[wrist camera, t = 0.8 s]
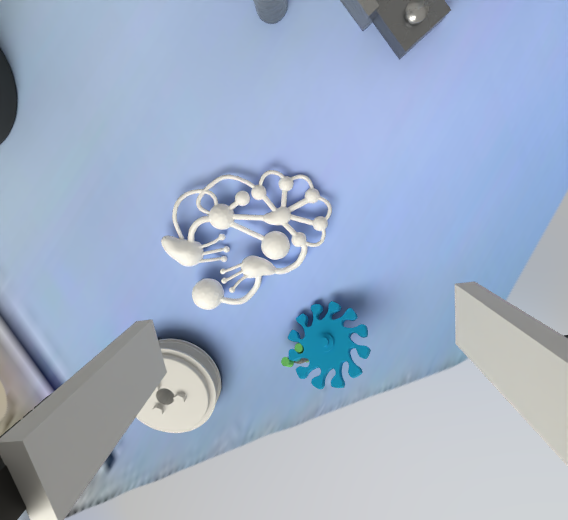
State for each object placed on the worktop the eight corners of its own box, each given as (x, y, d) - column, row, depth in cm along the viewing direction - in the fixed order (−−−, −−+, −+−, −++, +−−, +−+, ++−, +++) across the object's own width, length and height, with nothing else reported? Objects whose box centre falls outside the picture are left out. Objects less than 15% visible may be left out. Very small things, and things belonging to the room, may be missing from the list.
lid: (153, 319, 41) (133, 337, 36) (237, 360, 42) (228, 384, 37) (123, 389, 45) (101, 415, 40) (201, 427, 45) (189, 456, 40)
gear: (350, 287, 36) (381, 374, 31) (363, 301, 41) (392, 379, 36) (270, 319, 40) (286, 402, 34) (291, 328, 44) (307, 403, 39)
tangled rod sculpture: (297, 138, 35) (295, 129, 31) (349, 250, 37) (354, 255, 33) (157, 213, 38) (139, 214, 34) (211, 314, 40) (200, 326, 36)
